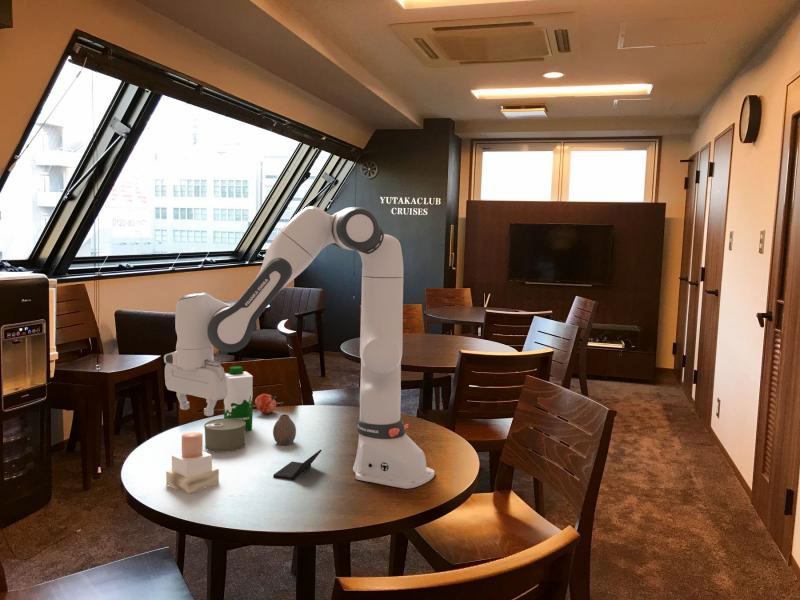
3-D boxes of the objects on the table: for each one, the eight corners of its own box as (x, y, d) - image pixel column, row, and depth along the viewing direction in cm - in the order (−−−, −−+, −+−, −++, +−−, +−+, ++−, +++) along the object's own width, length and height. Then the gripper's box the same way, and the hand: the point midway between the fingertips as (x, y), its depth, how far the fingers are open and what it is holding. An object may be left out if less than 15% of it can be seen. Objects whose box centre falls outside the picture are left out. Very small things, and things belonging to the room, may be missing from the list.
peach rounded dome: (206, 454, 160) (206, 435, 160) (189, 459, 156) (189, 439, 155) (194, 449, 163) (194, 430, 162) (177, 454, 159) (177, 435, 158)
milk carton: (247, 423, 212) (247, 364, 210) (255, 430, 204) (255, 369, 202) (221, 426, 208) (220, 367, 206) (228, 434, 200) (228, 372, 198)
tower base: (218, 483, 161) (218, 468, 161) (189, 495, 154) (189, 479, 154) (196, 475, 166) (195, 461, 166) (166, 486, 159) (166, 471, 159)
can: (247, 450, 186) (247, 427, 185) (205, 454, 182) (205, 431, 181) (243, 438, 197) (243, 416, 196) (203, 441, 193) (203, 419, 192)
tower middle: (212, 470, 160) (211, 454, 159) (187, 477, 155) (186, 462, 154) (196, 463, 164) (196, 448, 164) (172, 470, 159) (171, 455, 159)
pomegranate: (253, 422, 221) (273, 407, 218) (243, 404, 223) (263, 389, 220) (265, 418, 228) (285, 404, 225) (256, 401, 230) (275, 387, 227)
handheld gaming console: (284, 458, 175) (304, 433, 173) (304, 474, 176) (325, 449, 173) (269, 479, 164) (291, 453, 162) (291, 496, 165) (313, 470, 162)
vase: (298, 440, 196) (298, 412, 195) (292, 447, 189) (292, 418, 188) (276, 439, 196) (276, 411, 195) (270, 446, 190) (270, 417, 189)
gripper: (233, 360, 154) (234, 416, 155) (180, 351, 165) (182, 403, 167) (212, 365, 149) (213, 422, 150) (159, 355, 160) (161, 408, 162)
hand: (196, 412), depth 158 cm, fingers open, 8 cm apart
